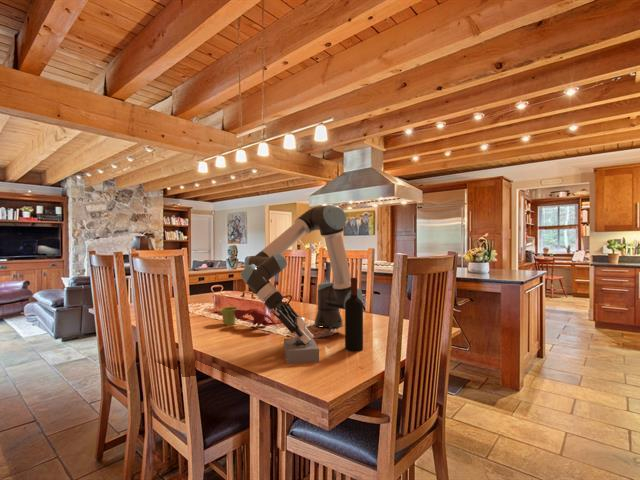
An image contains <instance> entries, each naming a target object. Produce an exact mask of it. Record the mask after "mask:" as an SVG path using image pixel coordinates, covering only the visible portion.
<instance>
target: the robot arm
mask: <svg viewBox="0 0 640 480" xmlns="http://www.w3.org/2000/svg"><path fill="white" fill-rule="evenodd" d="M346 223H347V216H346V213H345V210H343V208H341V207H340V206H339V205H334V204H333V205H332V204H330V205H329V204H328V205H322V206H314V207H311V208H309V209H308V210H307V211H305V212H304V213H302V214H301V215H299V216H298V217H297V218H296V219H295V220H294V223H293V224H292V225H290V227H288V228H287V229H286V230H285V231H283V233H281V234H279V236H277V237H276V238H274V240H273V241H271V242H270V243H269V244H268V245H266V246H265V247H264V248H263V249H261V251H259V252H258V253H257V254H255V255H252V256H251V255H250V256H248V257H247V258H246V260H245V263H244V265H245V268H244V269H243V270H242V271H241V272H240V277H241V278H242V281H243V282H244V283H245V284H246V285H247V286H248V287H249V288H250V289H251V291H253V293H254V294H255V295H256V296H257V297H258V299H259V300H260V301H261V302H262V303H264V305H265V306H266V308H267V309H268V310H270V311H271V310H274V312H273V316H275V317H276V318H277V319H278V320H279V321H280V322H281V323H282V324H283V325H284V327H286V329H287V330H289V332H290V333H291V334H293V333H294V334H295V333H296V334H297V336H298V337H299V338H300V339H301V340H302V341H303V342H304V343H305V345H306V344H307V343H308V342H309V341H310V340H311V339H312V338H313V339H314V334H313V333H311V331H310V330H309V329H308V328H307V327H306V326H305V332H304V331H303V330H302V329H301V328H300V327H299V328H298V326H297V325H296V324H295V318H296V317H300V315H298V312H296V311H295V310H294V308H292V306H291V305H290V304H289V303H287V304H286V303H285V302H284V301H283V299H284V296H283V295H282V294H281V292H280V291H278V289H277V288H276V286H274V284H273V283H272V282H271V281H270V280H271V279H272V278H274V277H275V276H277V275H278V274H279V273H281V272H283V270H284V269H285V268H287V265H288V262H287V260H286V257H284V255H283V254H284V253H285V252H286V251H287V250H288V249H290V248H291V247H292V246H293V245H294V244H296V242H297V241H299V240H300V239H301V238H303V237H304V236H307V235H309V234H310V233H312V232H314V231H319V233H320V236H321V237H323V238H324V241H325V245H326V246H325V247H326V250H327V255H328V258H329V263H330V264H329V265H330V268H331V272H332V276H333V282H332V281H331V282H330V281H329V282H321V283H319V284H318V286H317V313H316V316H315V318H314V326H315V325H316V326H315V327H317V326H323V327H336V328H335V329H337V328H341V327H342V326H343V319H342V318H343V317H342V316H341V312H340V309H342V310H345V302H346V301H347V300H348V299H349V298H350V296H351V278H352V276H351V272H350V267H349V263H348V257H347V253H346V252H347V251H346V248H345V245H344V239H343V235H342V234H343V233H344V231H345V229H344V227H346ZM357 296H358V298H359V299H360V300H361V301H362V302H363V292H362V289H360V288H359V287H357Z"/></svg>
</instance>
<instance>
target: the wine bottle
mask: <svg viewBox="0 0 640 480" xmlns="http://www.w3.org/2000/svg"><path fill="white" fill-rule="evenodd" d="M357 288H358V277H351V296H350V298H349V299H348V300H347V301H346V302H345V309H344V323H345V324H344V349H345V350H346V351H349V352H353V353H354V352H361V351H363V350H364V303H363V300H362V301H361V300H360V299H359V298H358V296H357Z"/></svg>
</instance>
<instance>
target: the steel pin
mask: <svg viewBox="0 0 640 480" xmlns="http://www.w3.org/2000/svg"><path fill="white" fill-rule="evenodd" d="M295 324H296V325H297V326H298V328H299V327H300V328H301V329H302V330H303V331H304V332H305V327H306V317H305V316H299V317H296V318H295ZM294 338H295V345H297V346H304V345H305V343H304V342H303V341H302V340H301V339H300V338H299V337H298V336H297V334H296V333H295V332H294Z"/></svg>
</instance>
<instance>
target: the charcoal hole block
mask: <svg viewBox="0 0 640 480" xmlns="http://www.w3.org/2000/svg"><path fill="white" fill-rule="evenodd" d="M283 353H284V356H285V361H286V364H287V365H292V364H293V365H295V364H308V363H309V364H310V363H311V364H312V363H320V347H319V346H318V344H317V343H316V341H315V339H314V337H313V338H312V339H311V340H310V341H309V342H308V343H307V344H306V345H304V346H297V345H295V337H292V338H291V337H290V338H288V337H287V338H283Z"/></svg>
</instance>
